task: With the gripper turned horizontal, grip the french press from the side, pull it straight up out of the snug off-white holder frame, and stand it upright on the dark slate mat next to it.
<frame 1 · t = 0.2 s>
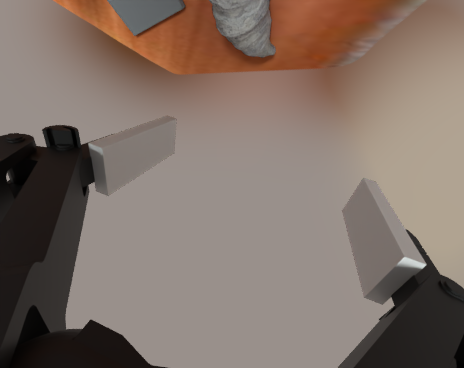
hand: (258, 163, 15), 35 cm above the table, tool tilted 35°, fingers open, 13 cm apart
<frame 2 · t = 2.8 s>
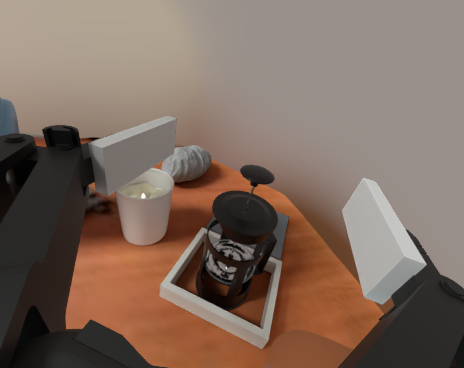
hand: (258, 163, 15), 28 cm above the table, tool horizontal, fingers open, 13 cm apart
slate mat: (250, 224, 51), on the table
seashell: (187, 175, 64), on the table
candle holder: (145, 230, 43), on the table
holder frame: (225, 282, 37), on the table
french press: (224, 283, 37), resting in holder frame
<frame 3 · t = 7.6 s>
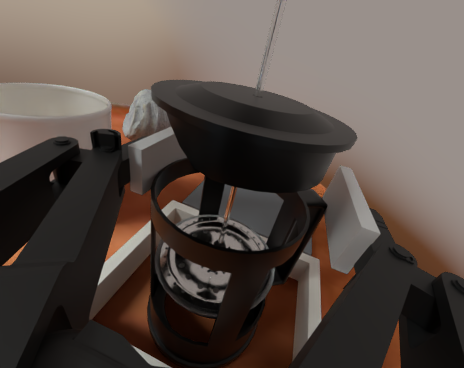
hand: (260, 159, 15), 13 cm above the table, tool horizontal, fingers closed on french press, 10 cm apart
slate mat: (255, 201, 33), on the table
seashell: (164, 139, 45), on the table
candle holder: (72, 207, 24), on the table
holder frame: (210, 301, 19), on the table
french press: (210, 302, 19), resting in holder frame, touching gripper
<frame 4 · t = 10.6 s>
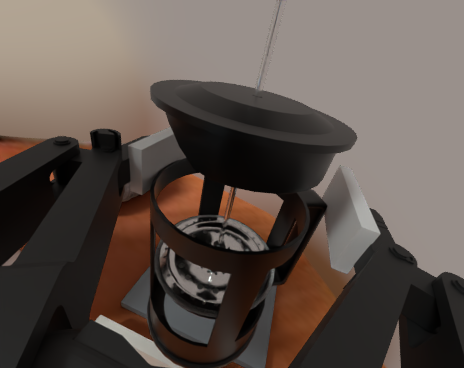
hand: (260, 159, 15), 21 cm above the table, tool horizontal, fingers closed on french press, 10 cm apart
slate mat: (213, 281, 29), on the table
french press: (210, 303, 19), point 8 cm above the table, touching gripper
when the fingers open (14 cm above the table, at t = 13.7 s): french press stays where it is, resting on slate mat.
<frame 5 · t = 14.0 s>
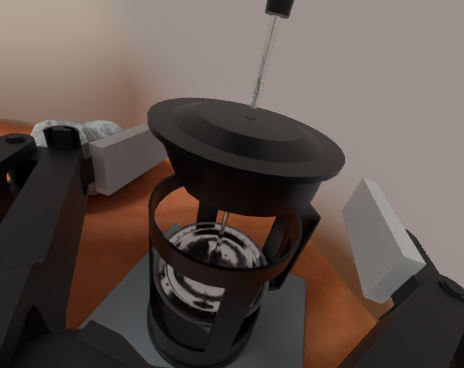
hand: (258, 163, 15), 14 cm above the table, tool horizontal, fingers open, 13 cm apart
slate mat: (208, 313, 20), on the table
seashell: (99, 183, 32), on the table
french press: (208, 307, 19), point 1 cm above the table, touching slate mat
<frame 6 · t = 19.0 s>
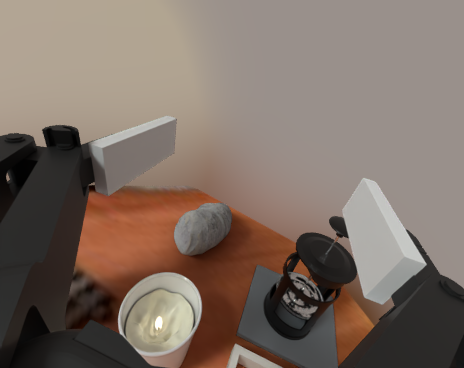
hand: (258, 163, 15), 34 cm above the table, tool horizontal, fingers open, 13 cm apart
slate mat: (288, 315, 41), on the table
seashell: (204, 236, 53), on the table
candle holder: (159, 347, 33), on the table
french press: (288, 312, 41), point 1 cm above the table, touching slate mat
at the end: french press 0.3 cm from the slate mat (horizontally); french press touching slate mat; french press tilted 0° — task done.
